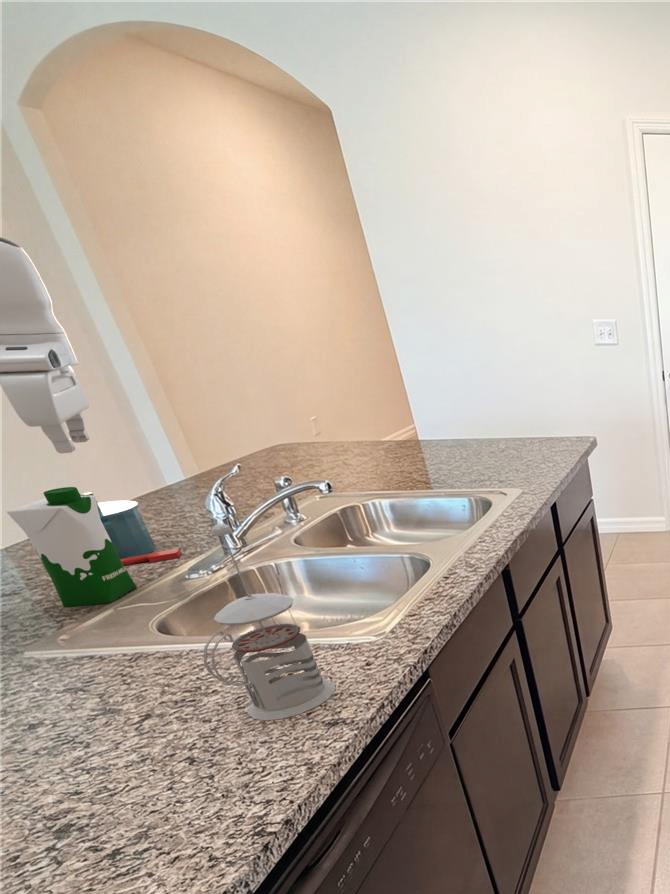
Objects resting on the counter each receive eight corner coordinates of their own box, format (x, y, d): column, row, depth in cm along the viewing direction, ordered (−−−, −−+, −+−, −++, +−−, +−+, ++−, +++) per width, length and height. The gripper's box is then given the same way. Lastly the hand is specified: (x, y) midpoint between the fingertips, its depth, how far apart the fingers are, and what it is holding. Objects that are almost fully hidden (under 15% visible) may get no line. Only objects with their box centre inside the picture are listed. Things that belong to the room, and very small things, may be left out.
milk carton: (112, 604, 116) (55, 496, 107) (52, 610, 114) (-11, 500, 106) (146, 585, 124) (95, 482, 115) (90, 589, 122) (34, 486, 113)
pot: (79, 575, 128) (55, 530, 124) (69, 554, 139) (46, 512, 135) (163, 556, 137) (143, 513, 133) (147, 538, 147) (128, 497, 143)
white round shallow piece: (51, 531, 125) (39, 508, 123) (45, 517, 133) (33, 495, 131) (145, 513, 135) (135, 492, 133) (134, 501, 143) (124, 481, 141)
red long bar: (76, 575, 128) (73, 569, 128) (80, 570, 131) (77, 564, 130) (179, 557, 136) (176, 551, 136) (181, 553, 139) (178, 547, 138)
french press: (351, 687, 91) (287, 516, 80) (261, 735, 81) (174, 549, 70) (307, 673, 94) (240, 507, 83) (215, 717, 85) (126, 537, 74)
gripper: (23, 350, 103) (63, 438, 109) (-23, 360, 88) (27, 461, 94) (78, 348, 107) (115, 434, 113) (43, 358, 92) (87, 456, 97)
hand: (74, 446), depth 103 cm, fingers open, 8 cm apart
